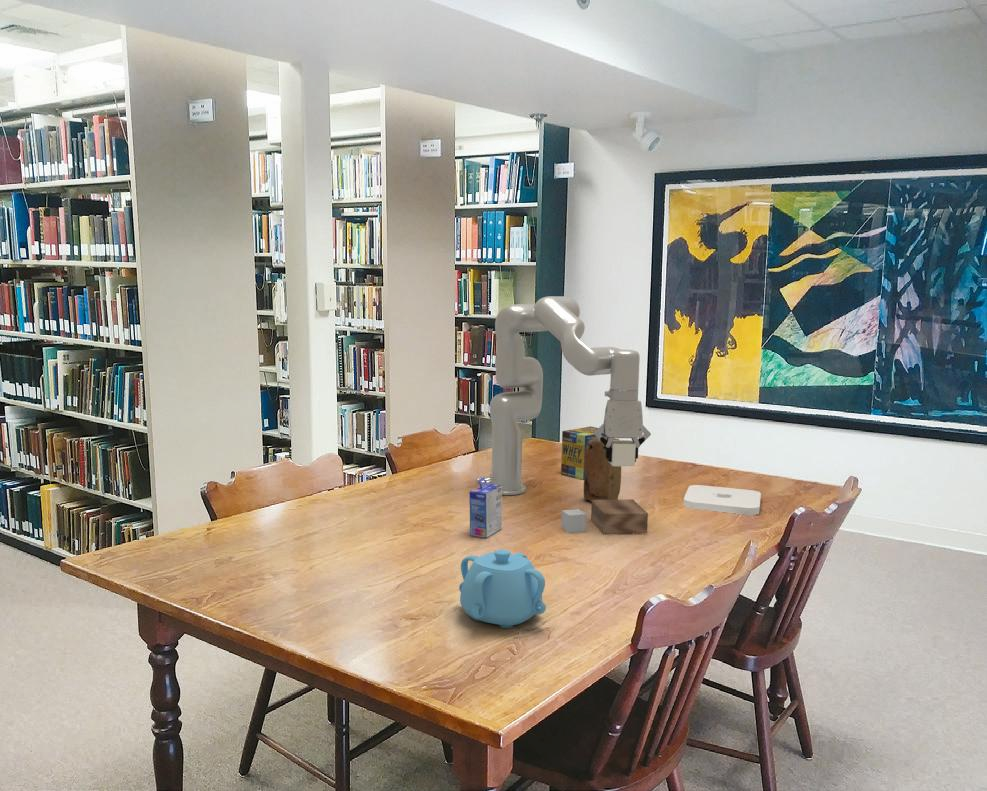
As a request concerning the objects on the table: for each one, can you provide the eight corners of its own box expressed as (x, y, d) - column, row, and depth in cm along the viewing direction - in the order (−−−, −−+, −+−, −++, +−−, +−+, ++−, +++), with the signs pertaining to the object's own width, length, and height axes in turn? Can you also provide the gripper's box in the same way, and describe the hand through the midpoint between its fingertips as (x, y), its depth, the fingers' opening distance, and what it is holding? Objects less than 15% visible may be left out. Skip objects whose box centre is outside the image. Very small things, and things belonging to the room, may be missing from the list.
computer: (758, 517, 239) (759, 508, 239) (682, 509, 246) (682, 500, 246) (760, 499, 260) (761, 491, 260) (689, 492, 267) (690, 484, 267)
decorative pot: (463, 635, 156) (464, 566, 154) (457, 601, 172) (458, 539, 170) (547, 632, 158) (549, 564, 156) (534, 599, 174) (535, 537, 172)
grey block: (568, 533, 220) (569, 515, 219) (561, 528, 225) (561, 510, 224) (585, 532, 221) (586, 514, 221) (577, 526, 226) (578, 509, 225)
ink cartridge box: (484, 525, 225) (485, 474, 223) (502, 528, 223) (503, 476, 221) (467, 535, 216) (468, 482, 214) (486, 538, 214) (488, 484, 212)
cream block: (612, 466, 221) (613, 444, 220) (608, 461, 227) (609, 440, 226) (634, 466, 221) (635, 444, 221) (629, 461, 227) (630, 440, 226)
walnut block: (603, 535, 219) (604, 514, 218) (590, 520, 233) (591, 499, 232) (646, 535, 221) (647, 513, 220) (632, 519, 234) (632, 499, 234)
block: (622, 502, 251) (625, 438, 248) (609, 507, 245) (612, 442, 242) (592, 496, 258) (594, 433, 255) (578, 501, 252) (581, 437, 249)
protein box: (560, 474, 286) (561, 430, 284) (589, 468, 296) (590, 426, 294) (582, 480, 278) (584, 435, 276) (611, 473, 289) (613, 430, 286)
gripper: (594, 397, 217) (592, 464, 220) (659, 397, 218) (656, 464, 221) (589, 393, 225) (587, 458, 227) (651, 394, 226) (649, 458, 228)
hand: (621, 460), depth 224 cm, fingers closed on cream block, 6 cm apart
